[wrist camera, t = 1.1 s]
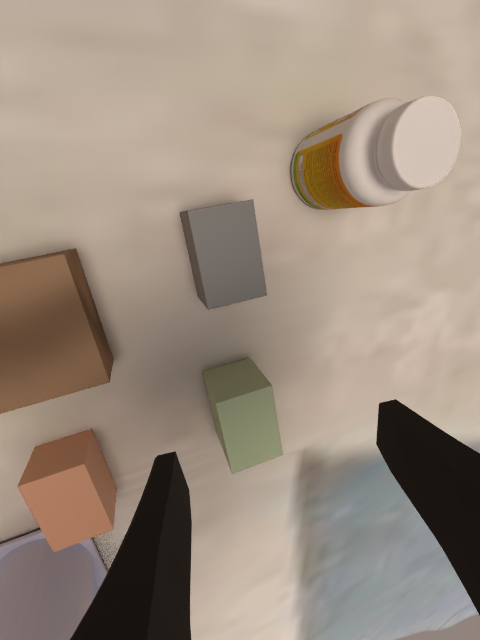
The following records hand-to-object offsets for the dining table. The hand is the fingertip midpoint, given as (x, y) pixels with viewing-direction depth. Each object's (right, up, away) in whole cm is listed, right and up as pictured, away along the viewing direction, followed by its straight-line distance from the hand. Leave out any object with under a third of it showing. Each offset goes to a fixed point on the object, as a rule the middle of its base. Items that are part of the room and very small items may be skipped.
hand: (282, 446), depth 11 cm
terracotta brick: (-14, -7, +14) cm, 21 cm away
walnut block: (-15, +4, +10) cm, 19 cm away
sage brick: (-2, -2, +16) cm, 16 cm away
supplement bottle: (+5, +15, +13) cm, 21 cm away
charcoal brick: (-3, +9, +12) cm, 16 cm away
